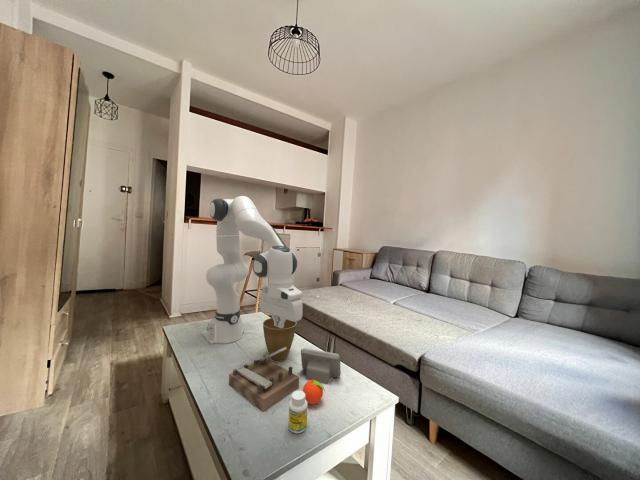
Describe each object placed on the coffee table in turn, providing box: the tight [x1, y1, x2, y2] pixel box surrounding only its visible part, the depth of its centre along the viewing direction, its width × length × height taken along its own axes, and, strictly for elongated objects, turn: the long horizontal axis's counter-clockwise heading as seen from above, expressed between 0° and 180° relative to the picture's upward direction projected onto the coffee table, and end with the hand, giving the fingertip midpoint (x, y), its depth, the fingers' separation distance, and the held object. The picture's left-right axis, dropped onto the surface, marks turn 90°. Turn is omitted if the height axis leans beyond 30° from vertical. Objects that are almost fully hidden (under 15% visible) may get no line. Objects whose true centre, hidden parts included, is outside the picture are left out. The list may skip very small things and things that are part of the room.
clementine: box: [302, 380, 326, 405], centre depth 82 cm, size 8×7×7 cm
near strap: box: [236, 366, 272, 389], centre depth 86 cm, size 16×3×1 cm, turn 51°
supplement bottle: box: [288, 390, 308, 434], centre depth 71 cm, size 5×5×10 cm
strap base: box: [228, 354, 300, 412], centre depth 89 cm, size 20×16×7 cm
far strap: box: [257, 347, 287, 362], centre depth 93 cm, size 16×3×1 cm
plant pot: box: [262, 316, 298, 363], centre depth 109 cm, size 15×15×16 cm
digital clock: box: [300, 347, 342, 385], centre depth 96 cm, size 16×9×11 cm, turn 63°
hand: (278, 326), depth 90 cm, fingers closed
